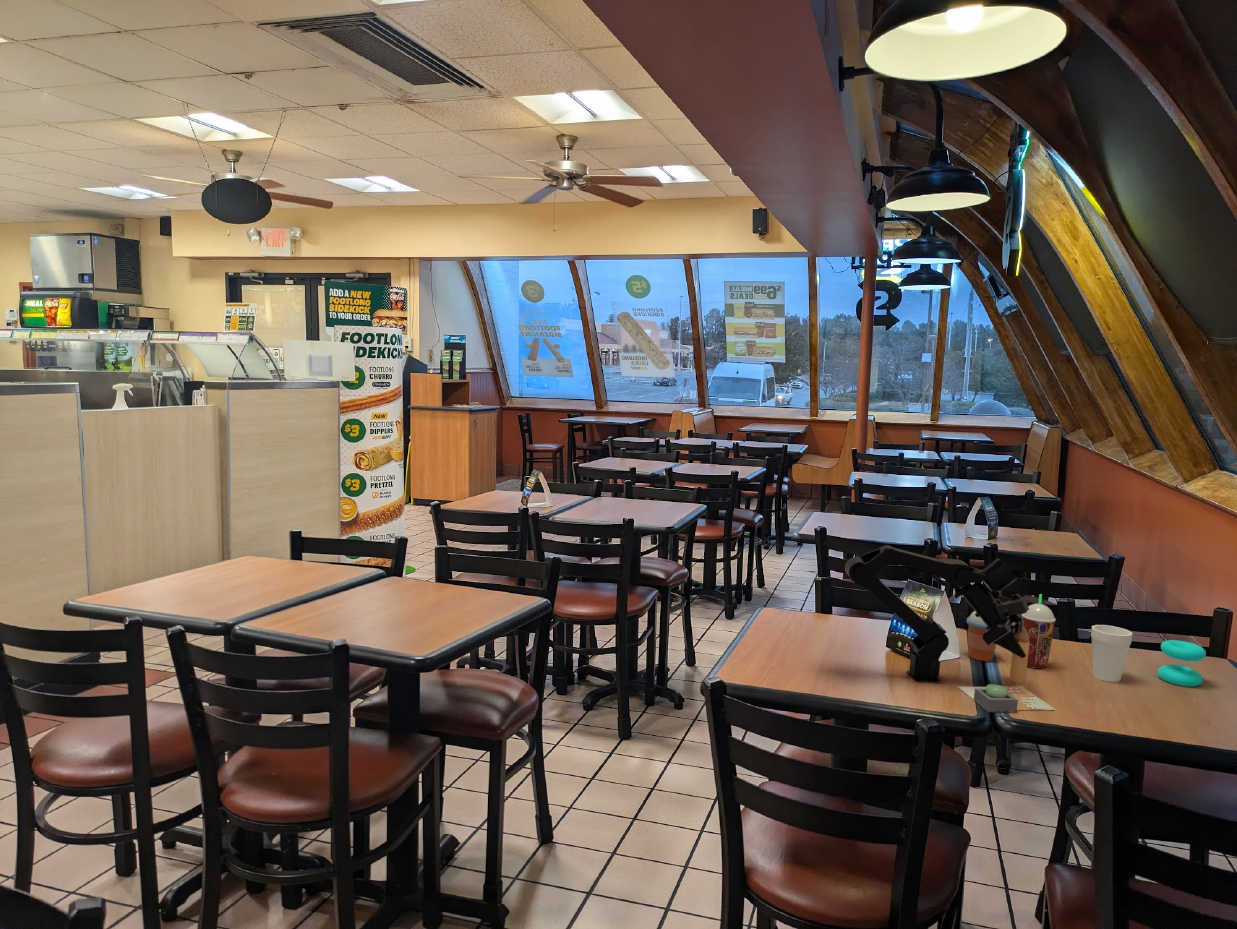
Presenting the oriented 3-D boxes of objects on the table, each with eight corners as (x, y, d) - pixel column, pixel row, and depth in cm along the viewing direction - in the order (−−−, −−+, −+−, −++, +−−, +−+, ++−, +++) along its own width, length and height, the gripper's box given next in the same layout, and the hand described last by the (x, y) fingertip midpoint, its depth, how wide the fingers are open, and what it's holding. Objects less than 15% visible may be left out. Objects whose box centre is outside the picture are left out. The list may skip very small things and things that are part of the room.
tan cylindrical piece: (1014, 681, 211) (1019, 636, 210) (1006, 676, 215) (1011, 632, 214) (1028, 681, 212) (1033, 637, 210) (1020, 676, 215) (1024, 632, 214)
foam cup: (1082, 677, 227) (1087, 629, 225) (1091, 668, 233) (1096, 622, 232) (1122, 687, 220) (1127, 638, 219) (1131, 678, 227) (1136, 631, 226)
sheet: (988, 712, 200) (989, 699, 200) (957, 687, 216) (958, 675, 215) (1057, 712, 202) (1058, 700, 201) (1021, 687, 217) (1022, 676, 217)
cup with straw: (995, 665, 233) (1001, 601, 231) (960, 658, 238) (966, 595, 236) (1000, 656, 241) (1006, 594, 239) (966, 649, 246) (972, 588, 244)
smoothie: (1054, 672, 230) (1061, 599, 227) (1021, 668, 231) (1028, 596, 229) (1045, 661, 238) (1052, 591, 235) (1013, 658, 239) (1020, 589, 237)
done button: (991, 703, 201) (992, 691, 201) (982, 696, 206) (983, 684, 205) (1009, 703, 202) (1010, 691, 201) (999, 696, 206) (1000, 684, 206)
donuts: (1165, 636, 232) (1209, 645, 226) (1161, 671, 233) (1205, 681, 227) (1157, 644, 225) (1203, 653, 218) (1153, 680, 226) (1198, 691, 219)
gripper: (1001, 592, 205) (1047, 647, 200) (1016, 578, 221) (1059, 629, 216) (964, 617, 211) (1008, 671, 206) (981, 602, 226) (1022, 652, 221)
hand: (1026, 655), depth 212 cm, fingers closed on tan cylindrical piece, 4 cm apart
